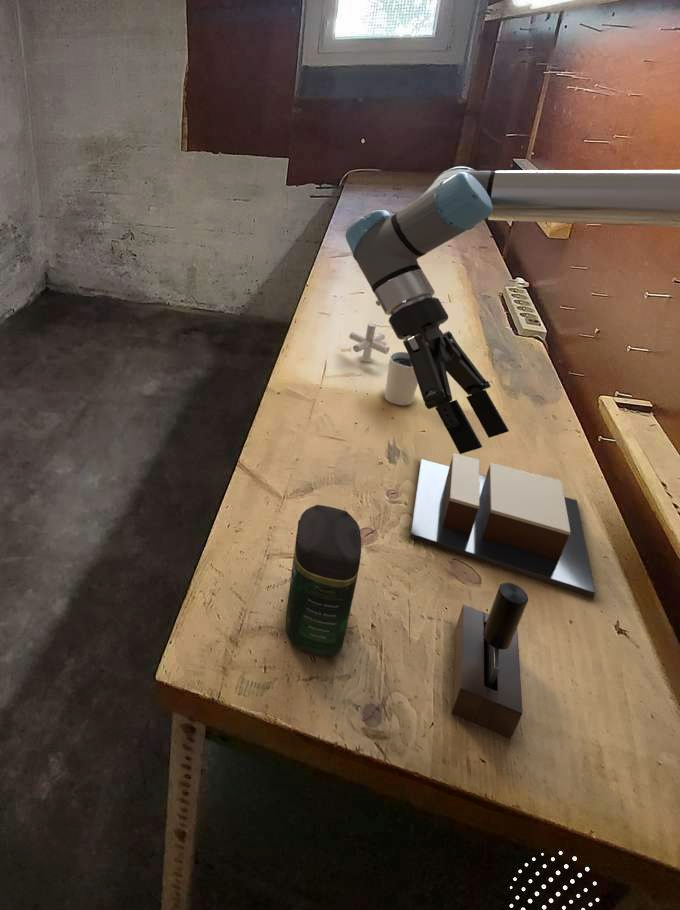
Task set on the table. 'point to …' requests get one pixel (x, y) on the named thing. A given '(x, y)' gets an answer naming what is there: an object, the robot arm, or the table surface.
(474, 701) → the knife block
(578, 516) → the cake board
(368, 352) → the pipe connector
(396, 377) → the white cup
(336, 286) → the table surface
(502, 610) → the knife
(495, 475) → the cake
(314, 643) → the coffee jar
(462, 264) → the table surface
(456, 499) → the cake slice
